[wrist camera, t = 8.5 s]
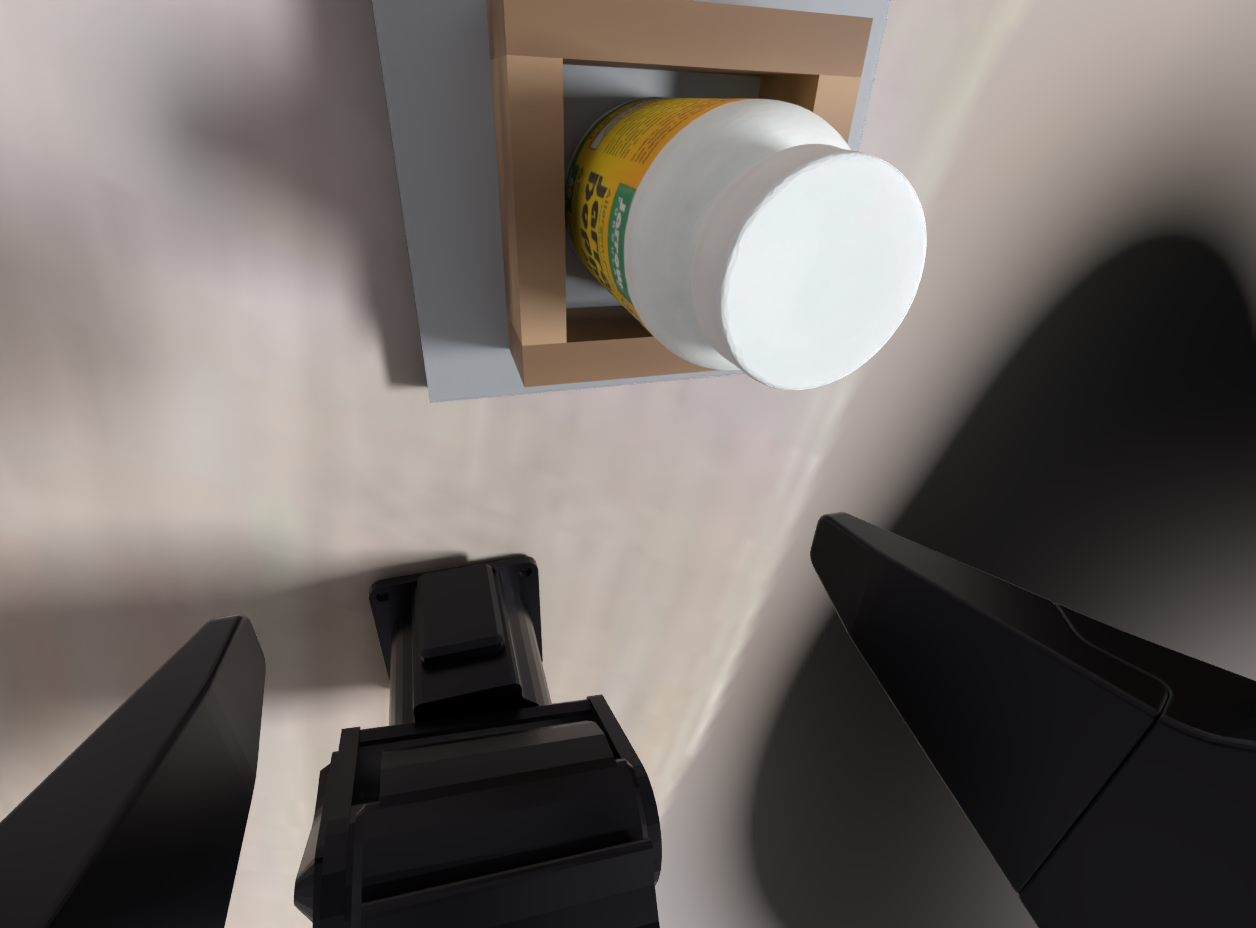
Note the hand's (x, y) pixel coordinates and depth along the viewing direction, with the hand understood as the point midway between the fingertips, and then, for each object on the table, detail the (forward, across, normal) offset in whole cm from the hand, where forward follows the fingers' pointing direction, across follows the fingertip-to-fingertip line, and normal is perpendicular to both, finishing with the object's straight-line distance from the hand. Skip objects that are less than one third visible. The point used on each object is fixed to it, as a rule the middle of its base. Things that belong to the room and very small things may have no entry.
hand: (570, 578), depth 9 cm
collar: (+11, -5, -4) cm, 13 cm away
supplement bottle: (+12, -5, -4) cm, 13 cm away
